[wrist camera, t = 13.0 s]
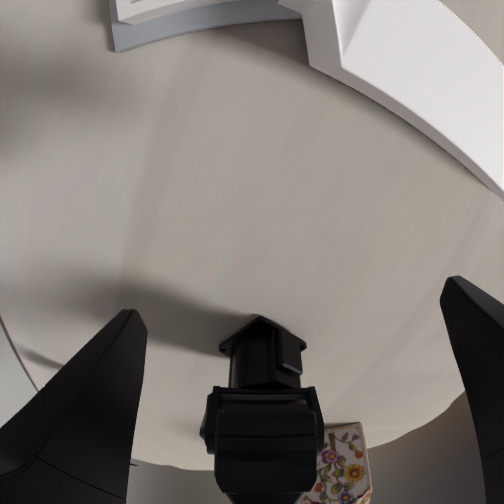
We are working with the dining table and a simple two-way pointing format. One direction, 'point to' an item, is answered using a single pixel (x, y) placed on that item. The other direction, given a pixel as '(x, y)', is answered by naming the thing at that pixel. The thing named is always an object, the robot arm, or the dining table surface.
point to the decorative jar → (342, 468)
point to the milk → (416, 72)
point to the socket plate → (185, 18)
